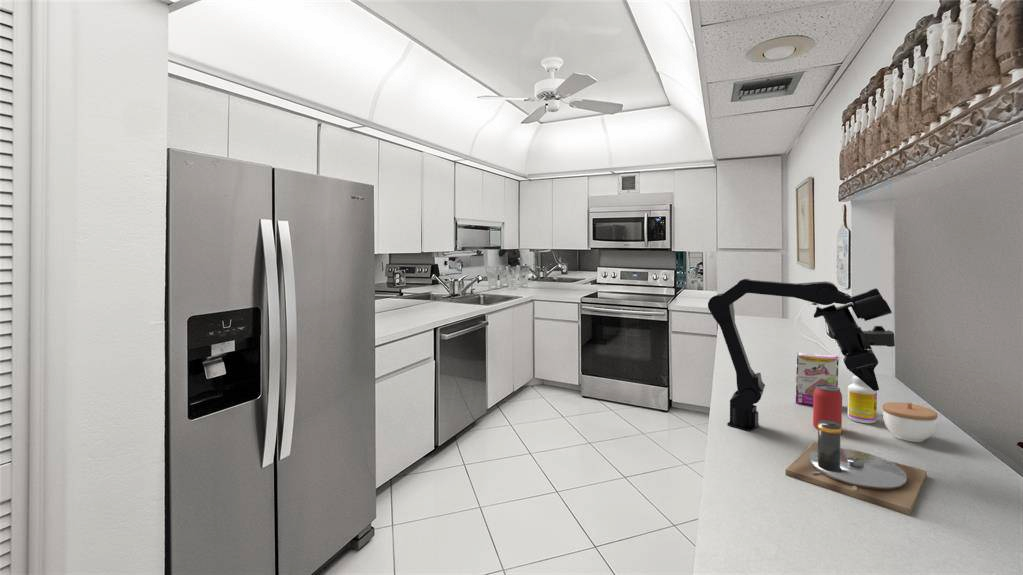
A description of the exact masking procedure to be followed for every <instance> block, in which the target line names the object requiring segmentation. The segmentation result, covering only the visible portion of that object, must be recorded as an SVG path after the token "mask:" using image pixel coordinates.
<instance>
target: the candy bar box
mask: <svg viewBox="0 0 1023 575" xmlns="http://www.w3.org/2000/svg"><path fill="white" fill-rule="evenodd" d="M839 360H840V359H839V357H838V355H835V354H834V355H832V354H821V353H820V354H819V353H809V352H807V353H806V352H796V362H795V363H796V367H795V370H796V371H795V404H799V405H807V406H813V393H814V390H815V388H816V385H819V384H825V385H832V386H836V387H839Z"/></svg>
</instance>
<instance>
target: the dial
mask: <svg viewBox="0 0 1023 575" xmlns="http://www.w3.org/2000/svg"><path fill="white" fill-rule="evenodd" d="M841 435H842V430H841V425H840V424H839V423H837V422H834V421H829V420H820V421H818V429H817V442H818V449H816V450H814V451H812V452H811V453H810V454H809V462H810V464H811V466H812V467H813V468H814V469H815V470H816V471H818V472H820V473H821V474H823V475H825V476H827V477H829V478H831V479H833V480H836V481H839V482H841V483H844V484H848V485H851V486H857V487H860V488H865V489H871V490H886V491H887V490H897V489H901V488H903V487H904V486H905V485H906V484H907V475H906V473H905V472H904V471H903V470H902V469H901V468H900V467H898V466H897V465H895V464H893V463H891V462H892V461H891V462H890V460H887V459H885V458H882V457H880V456H876V455H873V454H871V453H867V452H864V451H860V450H856V449H848V448H841V437H842V436H841Z"/></svg>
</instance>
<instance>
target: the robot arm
mask: <svg viewBox="0 0 1023 575" xmlns="http://www.w3.org/2000/svg"><path fill="white" fill-rule="evenodd" d="M746 294H756V295H766V296H775V297H776V296H777V297H786V298H793V299H794V298H795V299H799V300H802V301H806V302H809V303H813V304H816V305H817V304H818V305H822V306H824V307H820V306H816V307H815V308H816V309H815V312H814V313H813V318H814V319H815V318H816V319H817V318H820V317H823V319H824V321H825V323H826V324H827V327H828V328H829V331H830V332H831V334H832V337H833V339H834V340H835V342H836V343H837V346H838V347H839V349H840V352H841V354H842V355H843V356H844V357H843V360H842V361H843V364H844V365H845V367H846V369H847V370H848V371H849V372H851V373H852V374H853V376H854V375H856V376H857V377H858V378H859V379H860V380H862V381H863V382H864V383H865V384H866V385H868V386H869V387H870V388H871V389H872V390H873V391H877V392H878V391H879V390H880V387H879V384H878V380H877V376H876V374H875V368H876V367H877V366H878V365H879V360H878V358H877V357H876V355H875V353H874V351H873V348H872V347H871V346H874V347H875V346H876V347H883V346H884V347H891V348H892V347H895V346H896V343H895V342H896V341H895V333H894V331H891V330H889V329H888V330H885V328H884V327H883V325H874V327H873V328H872V330H871V329H869V330H863V329H862V327H861V326H859V324H858V323H857V322H856V320H855V318H854V316H853V314H852V312H851V311H850V308H851V309H852V311H853V313H854V315H855V316H856V319H857V320H859V319H861V320H862V319H863V320H864V322H867V321H871V320H873V319H877V318H880V317H884V316H887V315H890V314H891V315H892V314H893V311H892V309H891V308H890V306H889V304H888V302H887V300H885V298H884V297H883V295H882V294H881V293H880V291H879V289H878V288H872V289H869V290H868V291H865V292H861V293H860V294H856V295H854V296H851V295H850V294H849V293H845V292H843V291H840V290H839V289H838V287H837V286H836V285H835V284H834V283H833V282H831V281H811V282H800V283H799V282H798V283H796V282H794V283H793V282H783V281H772V280H771V281H770V280H758V279H756V280H755V279H751V278H743V279H741V280H739V281H738V282H737V283H736V284H735V285H734V286H732V287H731V288H729V289H728V290H727V291H725V292H723V293H718V294H716V295H713V296H711V298H709V300H708V302H707V308H708V311H709V312H710V314H711V316H712V318H713V319H714V320H715V322H716V323H717V324H718V326H719V327H720V330H721V332H722V335H723V338H724V341H725V344H726V348H727V351H728V353H729V356H730V359H731V362H732V364H733V365H732V366H733V368H734V370H735V373H736V374H735V375H736V377H735V378H736V388H737V390H736V391H735V392H734V393H733V395H732V397H731V398H730V399H729V421H728V422H727V423H726V424H727V426H731V427H733V428H736V429H741V430H745V431H748V432H751V431H753V430H754V429H756V428H758V427H759V426H760V423H759V411H758V409H757V405H755V404H757V403H759V401H761V398H762V396H763V393H764V389H765V386H766V385H765V383H764V382H763V380H762V374H761V372H756V373H755V371H754V370H753V369H752V367H751V364H750V361H749V359H748V356H747V352H746V349H745V346H744V344H743V340H742V338H741V335H740V333H739V330H738V326H737V324H736V320H735V319H736V318H735V316H736V315H735V306H734V303H735V302H737V301H738V300H739V299H741V298H742V297H743V296H744V295H746ZM835 304H839V306H836V305H835ZM840 305H841V306H840ZM825 306H826V307H825Z"/></svg>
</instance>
